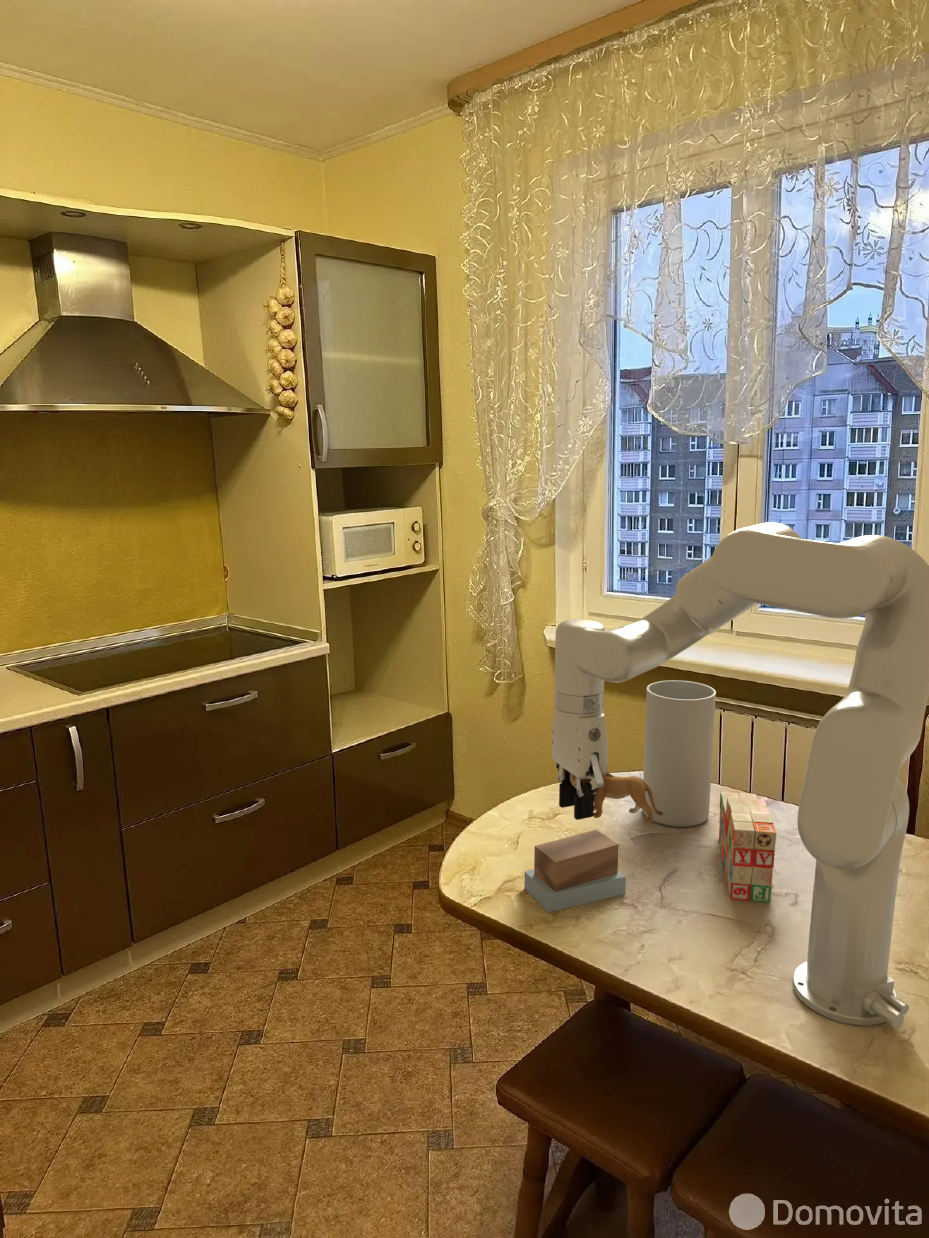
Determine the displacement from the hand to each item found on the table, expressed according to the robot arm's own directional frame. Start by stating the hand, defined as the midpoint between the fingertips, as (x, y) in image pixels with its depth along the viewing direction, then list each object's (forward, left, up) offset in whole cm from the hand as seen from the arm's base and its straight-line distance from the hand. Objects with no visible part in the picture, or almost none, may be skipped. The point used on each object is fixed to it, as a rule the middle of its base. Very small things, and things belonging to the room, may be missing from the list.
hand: (576, 810), depth 137 cm
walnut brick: (0, 0, -11) cm, 11 cm away
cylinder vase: (+17, -32, -14) cm, 39 cm away
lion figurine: (-2, -5, -1) cm, 6 cm away
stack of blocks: (-5, -30, -14) cm, 33 cm away
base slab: (0, 0, -14) cm, 14 cm away
